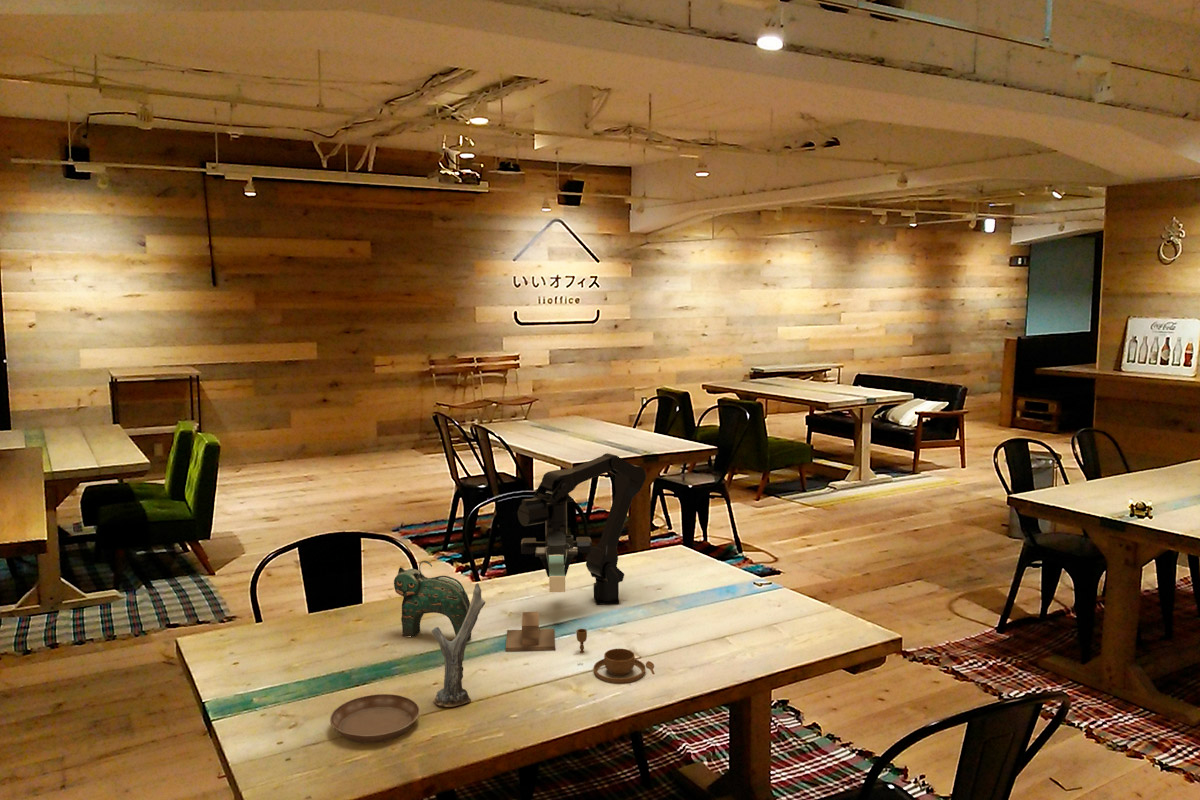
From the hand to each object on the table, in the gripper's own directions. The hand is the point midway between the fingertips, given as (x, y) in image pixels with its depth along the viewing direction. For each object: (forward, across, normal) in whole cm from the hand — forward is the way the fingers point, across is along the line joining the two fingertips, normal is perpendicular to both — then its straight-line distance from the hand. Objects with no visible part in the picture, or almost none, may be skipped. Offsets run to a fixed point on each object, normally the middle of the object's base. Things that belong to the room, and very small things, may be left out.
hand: (556, 576), depth 245 cm
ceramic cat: (+11, -31, -13) cm, 35 cm away
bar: (+1, 0, 0) cm, 1 cm away
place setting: (+11, +13, -33) cm, 37 cm away
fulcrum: (+10, -7, -18) cm, 22 cm away
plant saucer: (+11, -38, -58) cm, 70 cm away
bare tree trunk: (+11, -22, -47) cm, 53 cm away
